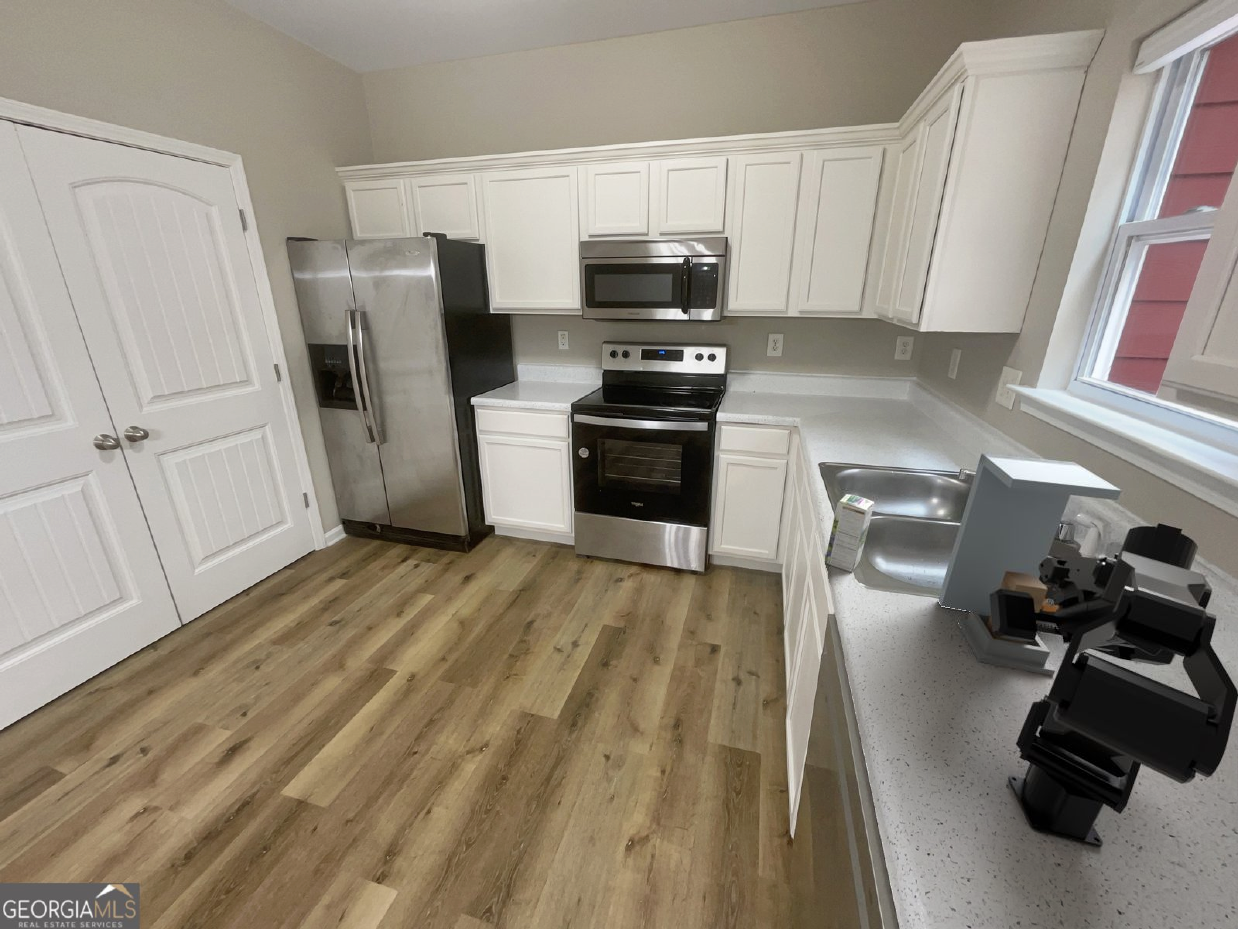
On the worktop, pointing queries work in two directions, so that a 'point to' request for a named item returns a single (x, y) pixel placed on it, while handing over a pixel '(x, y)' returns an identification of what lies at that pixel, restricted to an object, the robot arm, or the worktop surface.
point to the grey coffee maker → (1011, 523)
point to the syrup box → (849, 532)
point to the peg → (1023, 585)
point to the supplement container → (1048, 603)
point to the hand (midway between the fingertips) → (1039, 633)
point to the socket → (1004, 647)
